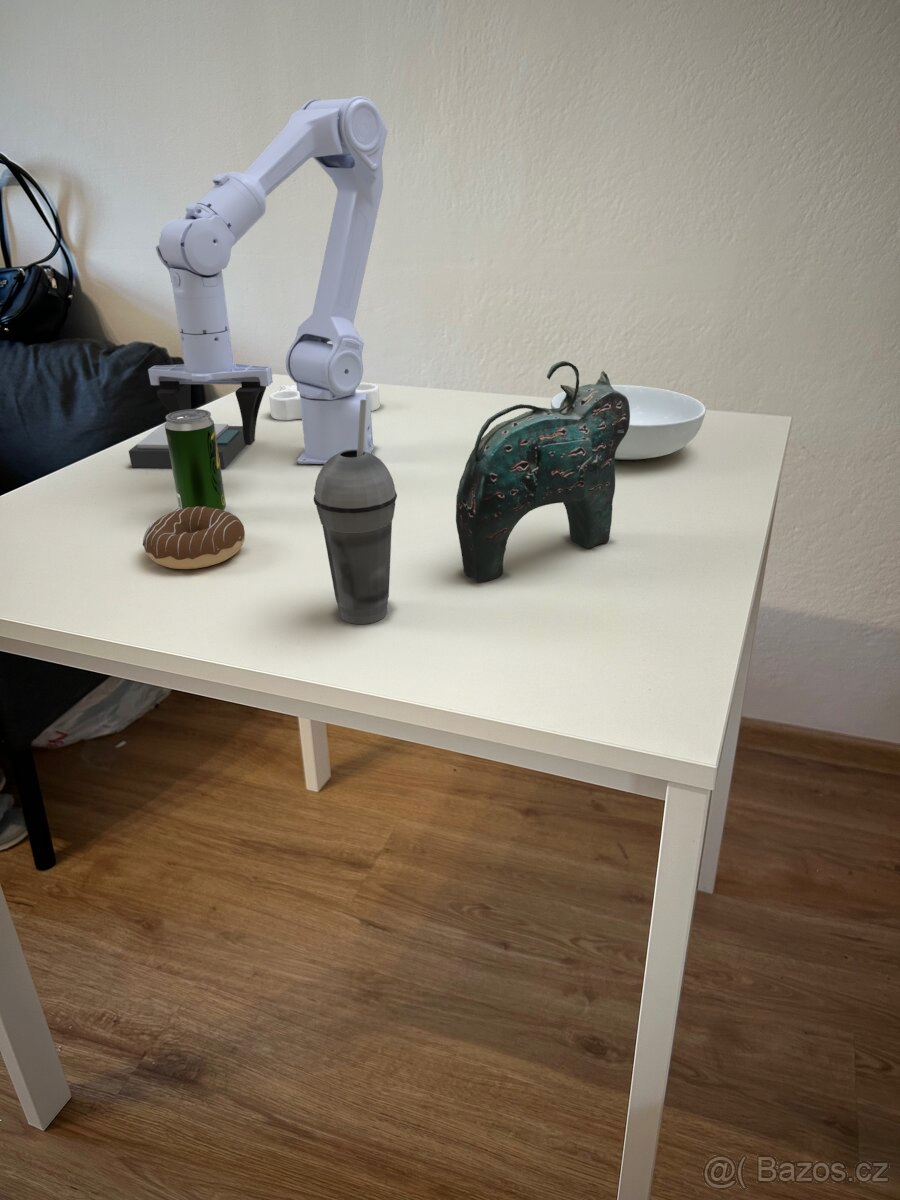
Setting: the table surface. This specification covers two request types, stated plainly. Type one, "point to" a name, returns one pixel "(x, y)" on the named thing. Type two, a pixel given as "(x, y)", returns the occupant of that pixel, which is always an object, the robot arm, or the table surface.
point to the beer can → (195, 459)
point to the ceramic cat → (542, 472)
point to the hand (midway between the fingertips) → (220, 442)
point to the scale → (157, 451)
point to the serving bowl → (655, 421)
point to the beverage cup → (357, 529)
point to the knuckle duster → (289, 405)
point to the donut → (194, 538)
